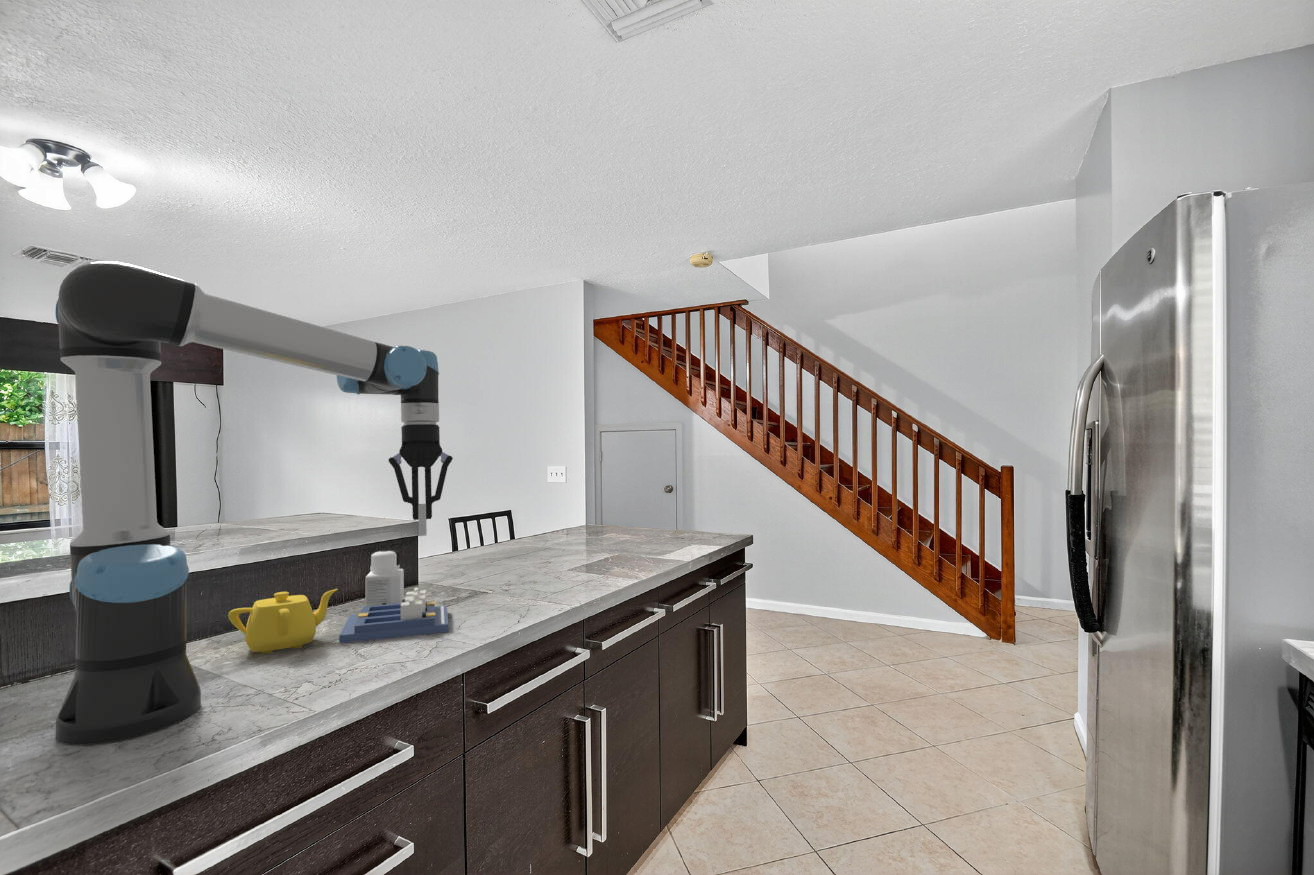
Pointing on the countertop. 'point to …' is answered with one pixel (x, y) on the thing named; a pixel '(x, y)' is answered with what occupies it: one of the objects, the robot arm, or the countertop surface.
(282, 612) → the teapot
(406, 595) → the grey studded block
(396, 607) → the blue divided tray
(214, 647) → the countertop surface
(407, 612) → the grey studded block
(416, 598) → the gray studded block
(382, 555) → the container
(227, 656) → the countertop surface
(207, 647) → the countertop surface
